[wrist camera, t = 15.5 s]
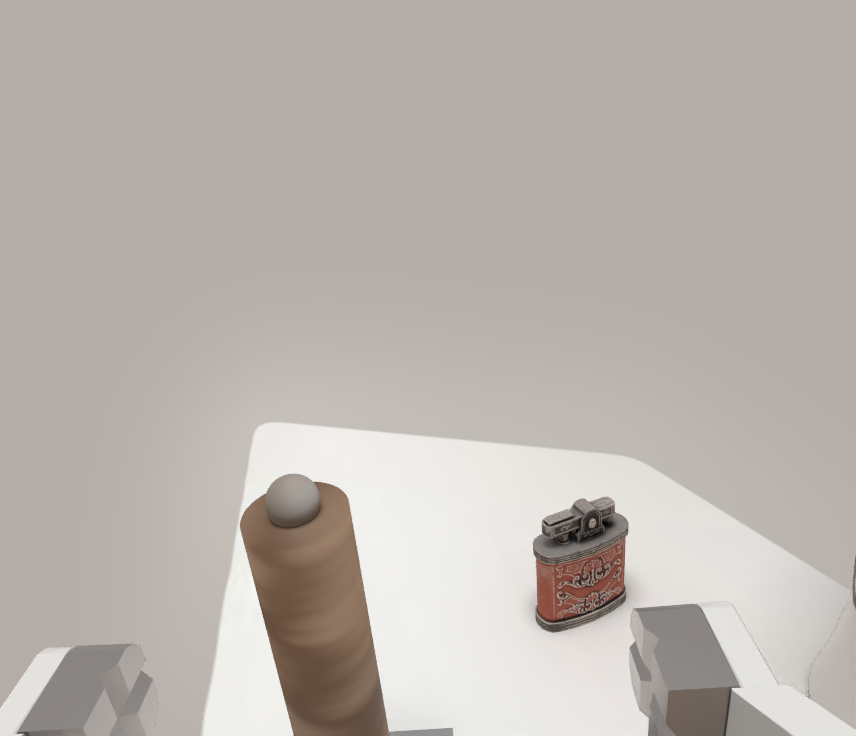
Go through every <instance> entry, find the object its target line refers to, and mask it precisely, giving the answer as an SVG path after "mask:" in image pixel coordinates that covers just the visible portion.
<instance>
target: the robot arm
mask: <svg viewBox="0 0 856 736" xmlns="http://www.w3.org/2000/svg"><path fill="white" fill-rule="evenodd" d="M630 627H631V630H632V633H633V636H634V639H635V642H634V643H633V644H632V645H631V647H630V652H629V664H630V672H631V680H632V685H633V689H634V693H635V697H636V700H637V703H638V707H639V710H640V711H641V712H642V713H644V714H645V715H646V716H647V717H648V718H649V731H648V736H856V558H855V565H854V576H853V591H852V593H851V595H850V598H849V600H848V602H847V605H846V607H845V608H844V609H843V612H842V614H841V617H840V619H839V622H838V624H837V626H836V628H835V630H834V632H833V633H832V635H831V637H830V639H829V640H828V642H827V643H826V645H825V646H824V648H823V649H822V651H821V652H820V653H819V655H818V656H817V657H816V659H815V661H814V662H813V664H812V667H811V670H810V674H809V695H810V698H808V697H807V696H805V695H804V694H802V693H801V692H799V691H798V690H796V689H795V688H793V687H792V686H790V685H779V683H778V682H777V680H776V678H775V677H774V675H773V673H772V671H771V670H770V668H769V666H768V665H767V663H766V661H765V659H764V658H763V656H762V654H761V653H760V651H759V649H758V647H757V646H756V644H755V642H754V640H753V639H752V637H751V635H750V634H749V632H748V630H747V628H746V627H745V625H744V623H743V622H742V620H741V618H740V616H739V615H738V613H737V611H736V609H735V608H734V606H733V605H732V604H731V603H729V602H728V601H721V602H709V603H696V604H695V605H694V604H684V605H672V606H659V607H647V608H634V609H633V610H632V613H631V623H630ZM145 661H146V659H145V656H144V654H143V652H142V649H141V647H140V645H136V644H116V645H115V644H114V645H91V646H76V647H57V648H46V649H45V650H43V651H42V652H40V653H39V654H38V655H37V656H36V657H35V659H34V660H33V661H32V663H31V664H30V666H29V667H28V669H27V670H26V672H25V673H24V675H23V676H22V677H21V679H20V680H19V682H18V683H17V685H16V686H15V688H14V689H13V691H12V692H11V693H10V695H9V696H8V698H7V699H6V701H5V702H4V704H3V705H2V707H1V708H0V736H150V735H151V733H152V730H153V728H154V726H155V722H156V716H157V709H158V696H157V689H156V686H155V683H154V681H153V679H152V678H151V677H149V676H148V675H147V674H145V673H144V672H142V671H141V669H142V667H143V665H144V663H145Z"/></svg>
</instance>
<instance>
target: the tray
mask: <svg viewBox="0 0 856 736" xmlns="http://www.w3.org/2000/svg"><path fill="white" fill-rule="evenodd" d="M389 736H453V728H445V729H429V730H412V731H396V732H389Z"/></svg>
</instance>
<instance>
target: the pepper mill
mask: <svg viewBox="0 0 856 736" xmlns="http://www.w3.org/2000/svg"><path fill="white" fill-rule="evenodd" d="M240 529H241V533H242V537H243V541H244V545H245V549H246V552H247V556H248V560H249V564H250V568H251V572H252V576H253V579H254V583H255V587H256V591H257V595H258V599H259V603H260V606H261V610H262V614H263V618H264V622H265V626H266V630H267V633H268V637H269V641H270V645H271V649H272V653H273V657H274V660H275V664H276V668H277V672H278V676H279V680H280V684H281V687H282V691H283V695H284V699H285V703H286V707H287V711H288V714H289V718H290V722H291V726H292V730H293V734H294V736H389V730H388V725H387V719H386V713H385V707H384V702H383V696H382V690H381V684H380V679H379V673H378V667H377V661H376V656H375V650H374V644H373V638H372V633H371V627H370V621H369V615H368V609H367V604H366V598H365V592H364V586H363V581H362V575H361V569H360V563H359V558H358V552H357V546H356V540H355V535H354V529H353V523H352V517H351V512H350V506H349V500H348V498H347V496H346V494H345V493H344V492H343V491H342V490H341V489H339V488H338V487H335V486H333V485H330V484H327V483H322V482H313V481H312V480H310V479H309V478H307V477H305V476H303V475H300V474H287V475H284V476H282V477H280V478H278V479H277V480H275V481H274V482H273V483H272V484H271V486H270V487H269V489H268V491H267V493H266V494H264V495H263V496H261V497H259V498H258V499H257V500H255V501H254V502H253V503H252V504H251V505H250V506H249V507H248V508H247V509H246V511H245V512H244V514H243V516H242V518H241V521H240Z"/></svg>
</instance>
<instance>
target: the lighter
mask: <svg viewBox="0 0 856 736" xmlns="http://www.w3.org/2000/svg"><path fill="white" fill-rule="evenodd" d="M542 533H543V534H541V535H540V536H538V537H537V538H535V539H534V542H533V551H534V555H535V557H536V571H537V600H538V604H537V606H536V621H537V623H538V625H539V626H540V627H541V628H542V629H544V630H546V631H549V632H560V631H564V630H568V629H572V628H576V627H579V626H581V625H584V624H587V623H590V622H593V621H595V620H597V619H599V618H601V617H603V616H605V615H606V614H608V613H610V612H612V611H613V610H615V609H616V608H617V607H619V606H620V605H622V604H623V603H624V602H625V599H626V588H625V585H624V566H625V537H626V536H627V534H628V521H627V519H626V518H625V517H624V516H622V515H620V514H618V513H615V502H614V500H612V499H611V498H610V497H602V498H599V499H596V500H593V501H591V502H588V501H587V500H586V499H579V500H577V501H576V502H575V503H574V504H573V506H572V507H571V509H569V510H568V509H566V510H564V511H561V512H558V513H555V514H553V515H550V516H547V517H545V518H544V519H543V520H542Z"/></svg>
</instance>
